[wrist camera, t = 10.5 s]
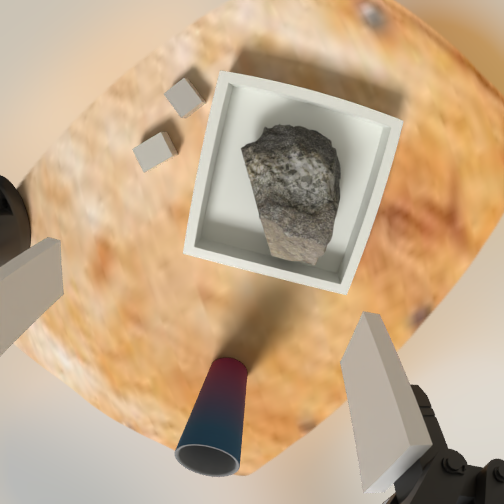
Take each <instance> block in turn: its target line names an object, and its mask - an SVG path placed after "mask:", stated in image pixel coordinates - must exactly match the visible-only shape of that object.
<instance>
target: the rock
mask: <svg viewBox="0 0 504 504" xmlns="http://www.w3.org/2000/svg"><path fill="white" fill-rule="evenodd" d="M241 151H242V155H243V159H244V162H245V164H244V165H245V166H246V169H247V172H248V177H249V179H250V183H251V186H252V190H253V194H254V198H255V201H256V205H257V209H258V213H259V219H260V220H261V223H262V226H263V229H264V233H265V236H266V239H267V243H268V246H269V249H270V252H271V255H272V256H275V257H278V258H282V259H285V260H289V261H302V262H306V263H309V264H312V265H316V263H317V261H318V258H319V257H320V256H323V254H324V253H325V251H326V248H327V244H328V243H329V242H330V241H331V239H332V235H333V228H334V222H335V218H336V215H337V211H338V207H339V201H340V187H339V184H340V178H341V171H340V170H341V168H340V162H339V160H338V156H337V151H336V149H335V148H333V147H332V142H331V140H330V139H328V138H327V137H325V136H323V135H322V134H321V133H318V131H316V130H309V129H307V128H305V127H302V126H295V127H293V126H291V125H280V124H279V125H275V126H273V128H267V127H264V130H263V133H262V135H261V137H260V138H259V139H258V140H257V141H255V142H251V143H248V144H246V145H245V146H244V147H242V148H241Z"/></svg>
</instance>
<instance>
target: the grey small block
mask: <svg viewBox="0 0 504 504" xmlns="http://www.w3.org/2000/svg"><path fill="white" fill-rule="evenodd" d="M132 150H133V152H134V154H135V156H136V158H137V160H138V162H139V164H140V166H141V168H142V170H143V172H144V173H145V172H147V171H150V170H152V169H154V168H156V167H157V166H159V165H161V164H163V163H164V162H166V161H168V160H170V159H172V158H173V157H175V156H177V155H178V153H177V151H176V149H175V147H174V145H173V143H172V141H171V139H170V137H169V135H168V133H167V132H160V133H158V134H156V135H155V136H153V137H151V138H150V139H148V140H146V141H145V142H143V143H142V144H140V145H138V146H137V147H135V148H134V149H132Z"/></svg>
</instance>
